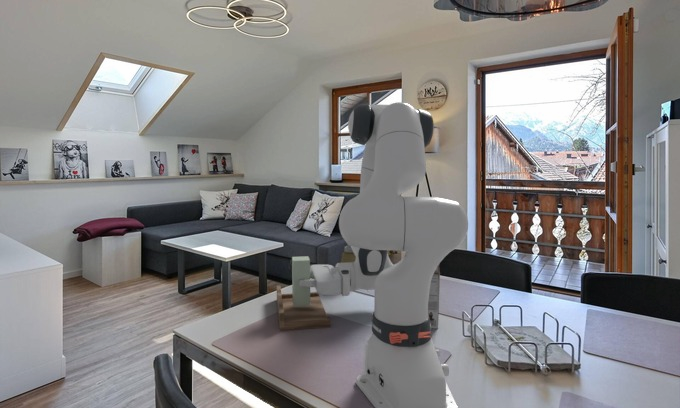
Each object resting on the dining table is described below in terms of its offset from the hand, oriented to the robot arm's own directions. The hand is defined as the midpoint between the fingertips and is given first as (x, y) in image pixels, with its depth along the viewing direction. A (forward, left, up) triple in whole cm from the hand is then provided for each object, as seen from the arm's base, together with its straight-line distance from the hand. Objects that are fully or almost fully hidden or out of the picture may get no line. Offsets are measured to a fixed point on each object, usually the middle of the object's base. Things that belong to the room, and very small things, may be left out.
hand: (298, 279), depth 122 cm
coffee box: (-14, -36, -10) cm, 40 cm away
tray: (0, -1, -10) cm, 10 cm away
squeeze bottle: (+24, -21, -10) cm, 34 cm away
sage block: (0, -1, -7) cm, 8 cm away
